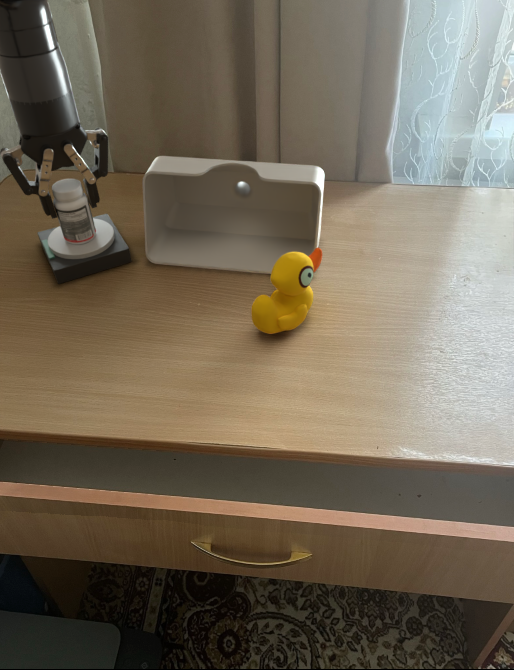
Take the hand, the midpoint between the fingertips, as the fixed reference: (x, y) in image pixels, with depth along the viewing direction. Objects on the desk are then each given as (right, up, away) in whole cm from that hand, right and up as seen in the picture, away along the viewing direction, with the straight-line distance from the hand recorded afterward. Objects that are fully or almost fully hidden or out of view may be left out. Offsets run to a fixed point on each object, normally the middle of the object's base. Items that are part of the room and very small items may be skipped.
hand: (73, 209), depth 79 cm
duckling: (+30, -16, -6) cm, 35 cm away
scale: (0, -5, +5) cm, 8 cm away
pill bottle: (0, -3, +3) cm, 5 cm away
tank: (+23, -3, +7) cm, 25 cm away
